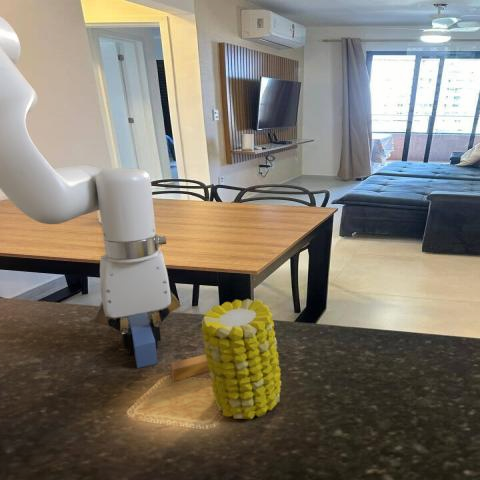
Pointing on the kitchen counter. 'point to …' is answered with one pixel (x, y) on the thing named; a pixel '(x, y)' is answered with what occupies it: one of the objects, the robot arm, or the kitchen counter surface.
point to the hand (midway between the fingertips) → (143, 346)
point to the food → (242, 358)
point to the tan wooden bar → (189, 367)
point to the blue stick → (143, 340)
